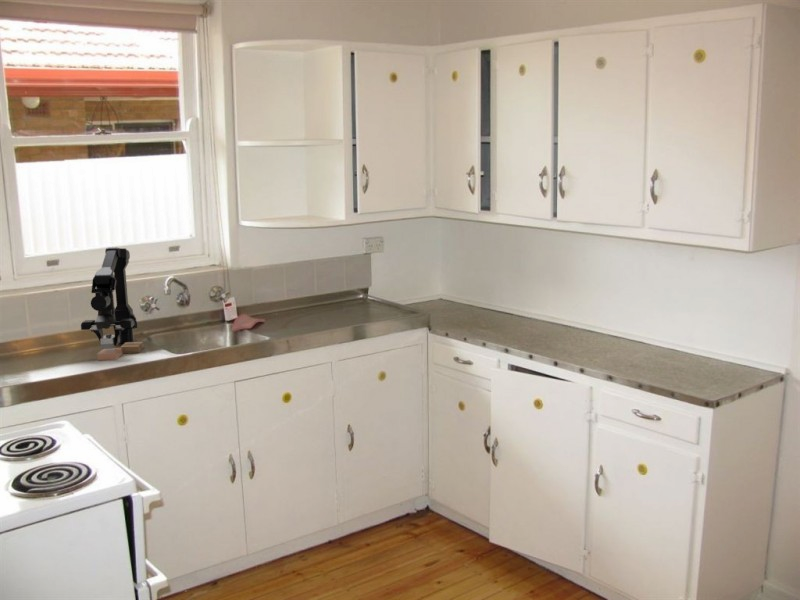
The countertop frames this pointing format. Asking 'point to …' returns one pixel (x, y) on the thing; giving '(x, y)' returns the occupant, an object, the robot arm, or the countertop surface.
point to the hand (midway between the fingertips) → (109, 346)
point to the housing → (108, 342)
